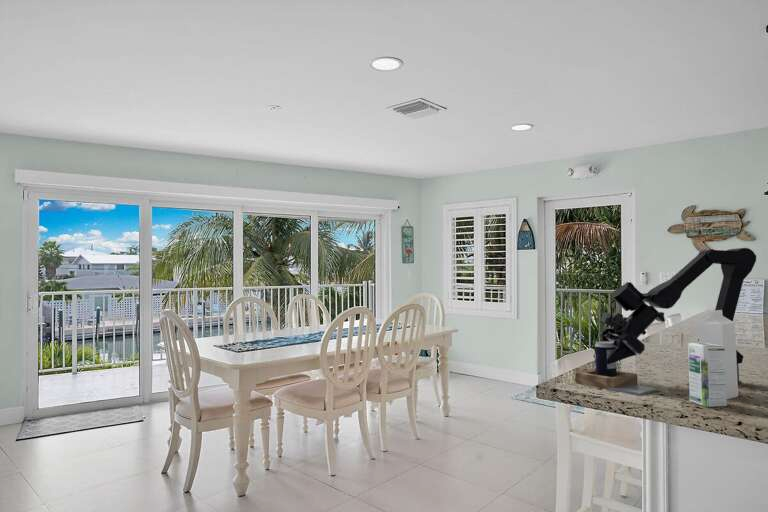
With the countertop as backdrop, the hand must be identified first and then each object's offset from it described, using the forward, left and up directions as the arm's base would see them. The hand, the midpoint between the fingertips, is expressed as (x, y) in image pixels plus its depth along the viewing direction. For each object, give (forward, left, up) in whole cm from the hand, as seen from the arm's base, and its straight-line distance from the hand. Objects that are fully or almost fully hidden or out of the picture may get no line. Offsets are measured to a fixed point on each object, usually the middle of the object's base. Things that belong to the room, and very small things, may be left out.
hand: (600, 360), depth 146 cm
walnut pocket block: (-1, -1, -7) cm, 7 cm away
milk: (-27, -10, -7) cm, 30 cm away
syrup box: (-29, +1, -7) cm, 30 cm away
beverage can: (-1, -1, -7) cm, 7 cm away
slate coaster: (-10, +1, -7) cm, 12 cm away
